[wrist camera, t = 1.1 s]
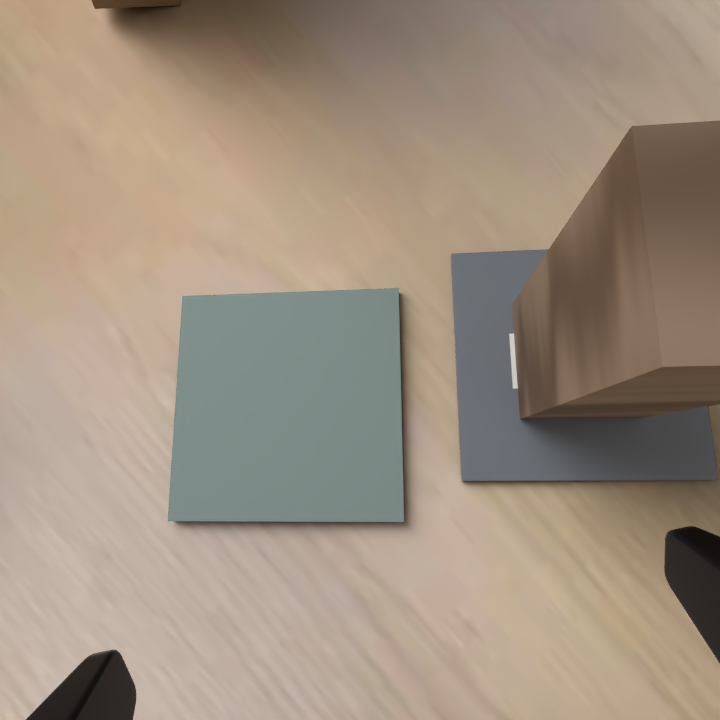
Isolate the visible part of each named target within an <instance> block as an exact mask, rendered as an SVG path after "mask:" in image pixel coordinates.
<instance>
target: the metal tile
mask: <svg viewBox="0 0 720 720" xmlns="http://www.w3.org/2000/svg"><path fill="white" fill-rule="evenodd" d="M547 252H548V250H526V251H503V252H480V253H457V254H451V266H452V287H453V309H454V331H455V353H456V375H457V397H458V419H459V441H460V463H461V481H571V480H718V473H717V466H716V459H715V453H714V446H713V439H712V432H711V425H710V418H709V411H708V406H705V407H700V408H694V409H689V410H683V411H678V412H672V413H667V414H661V415H656V416H650V417H644V418H573V419H520V414H519V400H518V385H517V371H516V357H515V342H514V328H513V314H512V304H513V302H514V301H515V299H516V298H517V296H518V295H519V293H520V292H521V290H522V289H523V287H524V286H525V284H526V283H527V281H528V280H529V278H530V277H531V275H532V274H533V273H534V271H535V270H536V268H537V267H538V265H539V264H540V262H541V261H542V259H543V258H544V256H545V255H546V253H547Z"/></svg>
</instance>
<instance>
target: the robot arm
mask: <svg viewBox="0 0 720 720" xmlns="http://www.w3.org/2000/svg"><path fill="white" fill-rule="evenodd" d="M664 570H665V576H666V579H667V581H668V583H669V585H670V587H671V589H672V590H673V592H674V593H675V595H676V596H677V598H678V600H679V601H680V603H681V604H682V606H683V607H684V609H685V610H686V612H687V614H688V615H689V617H690V618H691V620H692V621H693V623H694V624H695V626H696V627H697V629H698V631H699V632H700V634H701V635H702V637H703V638H704V640H705V641H706V643H707V644H708V646H709V648H710V649H711V651H712V652H713V654H714V655H715V657H716V658H717V660H718V661H719V663H720V537H719V536H717V535H714V534H712V533H709V532H707V531H705V530H702V529H700V528H697V527H693V526H691V527H684V528H679V529H675V530H671V531H669V532H668V533H667V534H666V537H665V566H664ZM135 704H136V688H135V685H134V682H133V680H132V678H131V675H130V673H129V671H128V669H127V667H126V664H125V662H124V660H123V658H122V656H121V654H120V653H119V652H118V651H117V650H109V651H104V652H100V653H95V654H92V655H90V656H88V657H87V658H86V659H85V660H84V661H83V662H82V663H81V664H80V665H79V666H78V667H77V668H76V669H75V670H74V671H73V672H72V673H71V674H70V675H69V676H68V677H67V678H66V679H65V680H64V681H63V682H62V683H61V684H60V685H59V686H58V687H57V688H56V689H55V690H54V691H53V692H52V693H51V694H50V695H49V696H48V698H47V699H46V700H45V701H44V702H43V703H42V704H41V705H40V706H39V707H38V708H37V709H36V710H35V711H34V712H33V713H32V714H31V715H30V716H29V717H28V718H27V719H26V720H133V716H134V710H135Z"/></svg>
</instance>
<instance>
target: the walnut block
mask: <svg viewBox="0 0 720 720" xmlns="http://www.w3.org/2000/svg"><path fill="white" fill-rule="evenodd" d="M512 314H513V328H514V342H515V357H516V371H517V385H518V400H519V414H520V419H573V418H644V417H650V416H656V415H661V414H667V413H672V412H678V411H683V410H689V409H694V408H700V407H705V406H711V405H716V404H720V121H708V122H693V123H677V124H661V125H645V126H632V127H631V128H630V130H629V131H628V133H627V134H626V136H625V137H624V139H623V140H622V142H621V143H620V145H619V146H618V148H617V149H616V150H615V152H614V153H613V155H612V156H611V158H610V159H609V161H608V162H607V164H606V165H605V167H604V168H603V170H602V171H601V173H600V174H599V176H598V177H597V179H596V180H595V182H594V183H593V185H592V186H591V188H590V189H589V191H588V192H587V194H586V195H585V197H584V198H583V200H582V201H581V203H580V204H579V206H578V207H577V209H576V210H575V212H574V213H573V214H572V216H571V217H570V219H569V220H568V222H567V223H566V225H565V226H564V228H563V229H562V231H561V232H560V234H559V235H558V237H557V238H556V240H555V241H554V243H553V244H552V246H551V247H550V249H549V250H548V252H547V253H546V255H545V256H544V258H543V259H542V261H541V262H540V264H539V265H538V267H537V268H536V270H535V271H534V273H533V274H532V275H531V277H530V278H529V280H528V281H527V283H526V284H525V286H524V287H523V289H522V290H521V292H520V293H519V295H518V296H517V298H516V299H515V301H514V302H513V304H512Z"/></svg>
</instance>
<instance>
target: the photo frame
mask: <svg viewBox="0 0 720 720" xmlns="http://www.w3.org/2000/svg"><path fill="white" fill-rule="evenodd" d="M92 2H93V5H94V7H95V9H100V8H124V7H149V6H174V5H180V0H92Z"/></svg>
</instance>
